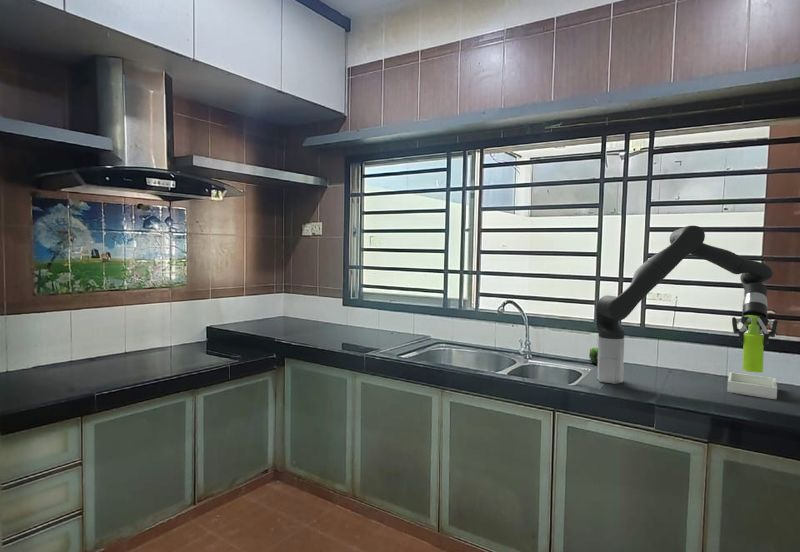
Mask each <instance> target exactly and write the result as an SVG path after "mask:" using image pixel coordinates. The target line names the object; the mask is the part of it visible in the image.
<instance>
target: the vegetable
mask: <svg viewBox="0 0 800 552" xmlns="http://www.w3.org/2000/svg"><path fill="white" fill-rule="evenodd" d="M588 356H589V358H590V361H591V362H592V363H593V364H596V365H598V347H594V346H593V347H591V348H590V349H589V355H588Z"/></svg>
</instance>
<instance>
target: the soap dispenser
mask: <svg viewBox="0 0 800 552" xmlns="http://www.w3.org/2000/svg"><path fill="white" fill-rule="evenodd" d="M744 317H750V318H751V324H750V325H748V330H747V332H745V333H744V342H743V343H742V344H743V347H742V348H743V349H742V370H743V371H746V372H750V373H763V372H764V351H765V349H764V347H765V346H763V344H764V335H763V334H762V333H761V332H760V326H759V325H758V324H757V319H760V317H758V316H754V315H745V316H744Z"/></svg>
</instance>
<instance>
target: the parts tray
mask: <svg viewBox="0 0 800 552" xmlns="http://www.w3.org/2000/svg"><path fill="white" fill-rule="evenodd" d="M726 391H727V393H732V394H737V395H743V396H744V395H745V396H751V397H757V398H758V397H759V398H762V399H769V400H770V399H771V400H778V399H777V397H778V385H777V379H776V377H769V376H761V375H754V374H747V373H737V372H732V371H729V373H728V377H727V389H726Z"/></svg>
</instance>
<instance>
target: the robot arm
mask: <svg viewBox="0 0 800 552" xmlns="http://www.w3.org/2000/svg"><path fill="white" fill-rule="evenodd" d="M705 238H706V233H705V231H704V229H703V228H702V227H700V226H699V225H687V226H684V227H680V228H677V229H675V230H674V231H673V232H671V234H670V235H669V243H670V244H669V245H667V247H665V248H664V249H662V250H660V251H658V252H657V253H656V254H653V255H652V256H651V257H649V258H648V259H647V260H646V261H644V262H643V263H642V264H641V265H640V266H639V267H638V268H637V269H636V271H635V272H634V274H633V276H632V279H631V283H630V284H629V286H628V287H627V288H626V289H625V290H624V291H622V292H621V293H620V294H619V295H618V296H616V295H615V296H614V295H604V296H601V297H599V299H598V301H597V304H596V311H595V313H596V315H595V319H596V321H595V322H596V328H597V329H596V330H597V332H598V341H597V342H598V344H597V345H598V346H597V348H598V364H597V380H598V382H600V383H607V384H613V385H616V384H623V382H624V358H625V357H624V355H625V330H624V329H623V328H622V327H621V326H620V324H619V321H624V320H625V319H626V318H627V317H628V316H629V315H630V314H631V313H632V312H633V311H634V310H635V309H636V308H637V306H638V305H639V303H640V302H642V300H643V299H644V298H645V297H646V296H647V295H649V293H650V292H651V291H652V290H654V288H656V286H658V285H659V284H660V283H661V282H662V281H663V280H664V279H665V278H666V277H668V275H669V274H670V273H671V272H672V271H673V270H674V269H675V268H676V267H677V266H678V265H679V264H680V263H681V262H682V261H683V260H684V259H685V258H686V257H688V256H689V255H691V256H694V257H697V258H700V259H702V260H705V261H707V262H709V263H712V264H713V265H716V266H718V267H720V268H721V269H724V270H725V271H728V272H729V273H730V274H733V275H740V276H739V277H740V278H739V279H740V282H741V284H742V288H743V291H744V292H743V293H744V294H743V300H742V314H741V317H740V318H736V317H735V316H732V318H731V319H732V320H731V323H732V330H733V334H735V335H736V334H737V335H738V341H739V343H741V344H743V343H744V334H746V333H748V325H750V324H751V318H750V317H744V316H745V315H754V316H758V317H760V319H757V324H758V325H759V326H760V334H761V335H764V344H763V346H764V347H765V346H766V347H767V345H769V342H770V340H769V339H770V338H775V336H776V333H777V329H778V325H779V321H778V320H769V318H768V308H769V306H768V290H767V289H768V288H767V287H766V285H765V284H764V283H765V282H767V281H768V280H770V279H771V278H772V277H773V275H774V271H773V269H772V268H771V267H770V266H769V265H767V264H766V263H764V262H762V261H761V262H760V261H757V260H752V259H748V258H744V257H743V256H740V255H738V254H737V253H735V252H732V251H730V250H728V249H724V248H721V247H717V246H713V245H710V244H706V243H705V240H706V239H705ZM740 323H741V325H742V326H741V327H740V328H738V326H739V324H740ZM768 325H769V326H770V328H771V330H770V331H769V330H768V329H767V326H768Z"/></svg>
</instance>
